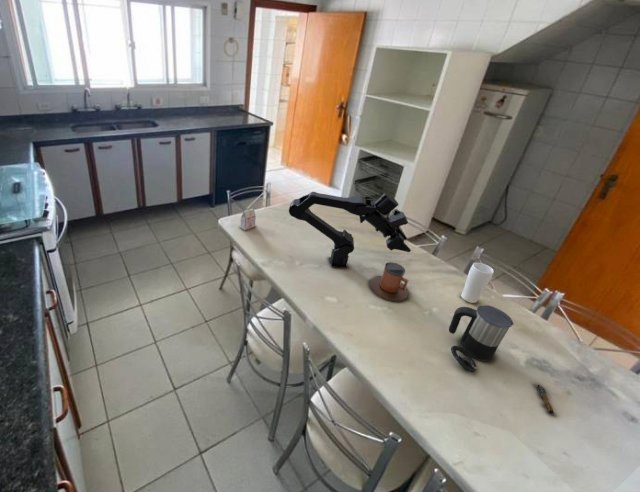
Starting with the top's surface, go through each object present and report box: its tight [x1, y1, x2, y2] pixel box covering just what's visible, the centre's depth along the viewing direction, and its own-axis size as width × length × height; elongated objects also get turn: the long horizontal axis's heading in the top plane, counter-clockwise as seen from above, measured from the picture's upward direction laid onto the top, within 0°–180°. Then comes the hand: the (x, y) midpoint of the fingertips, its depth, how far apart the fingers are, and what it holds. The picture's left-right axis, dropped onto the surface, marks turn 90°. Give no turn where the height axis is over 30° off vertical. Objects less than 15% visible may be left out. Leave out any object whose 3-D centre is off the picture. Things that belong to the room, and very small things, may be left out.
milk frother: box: [448, 304, 514, 372], centre depth 100 cm, size 14×16×15 cm
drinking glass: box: [460, 262, 495, 304], centre depth 124 cm, size 7×7×15 cm
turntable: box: [369, 275, 409, 303], centre depth 130 cm, size 14×14×1 cm
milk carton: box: [239, 207, 257, 231], centre depth 166 cm, size 4×7×10 cm, turn 129°
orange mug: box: [380, 261, 409, 293], centre depth 127 cm, size 9×7×9 cm
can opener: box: [536, 384, 555, 414], centre depth 91 cm, size 9×2×1 cm, turn 152°
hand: (408, 245), depth 131 cm, fingers open, 9 cm apart
